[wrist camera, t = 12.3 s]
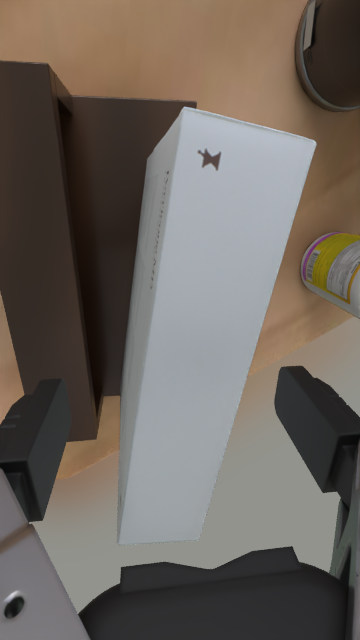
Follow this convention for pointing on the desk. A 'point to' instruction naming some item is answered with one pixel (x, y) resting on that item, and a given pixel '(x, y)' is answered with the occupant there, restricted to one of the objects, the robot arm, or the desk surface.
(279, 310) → the desk surface
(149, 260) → the skincare box
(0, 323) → the desk surface
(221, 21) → the desk surface
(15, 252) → the metal step block
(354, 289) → the supplement bottle
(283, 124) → the desk surface
